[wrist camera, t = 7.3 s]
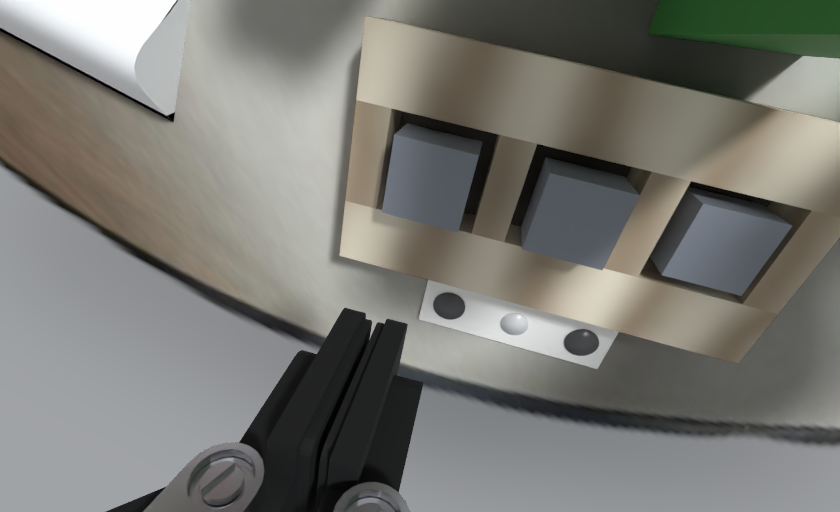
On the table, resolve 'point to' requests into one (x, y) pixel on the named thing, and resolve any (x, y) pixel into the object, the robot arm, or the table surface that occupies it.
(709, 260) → the button
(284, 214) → the table surface
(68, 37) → the file organizer
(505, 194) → the button board
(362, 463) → the robot arm
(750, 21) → the hardback book
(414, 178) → the button
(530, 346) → the pattern card
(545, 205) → the middle button
